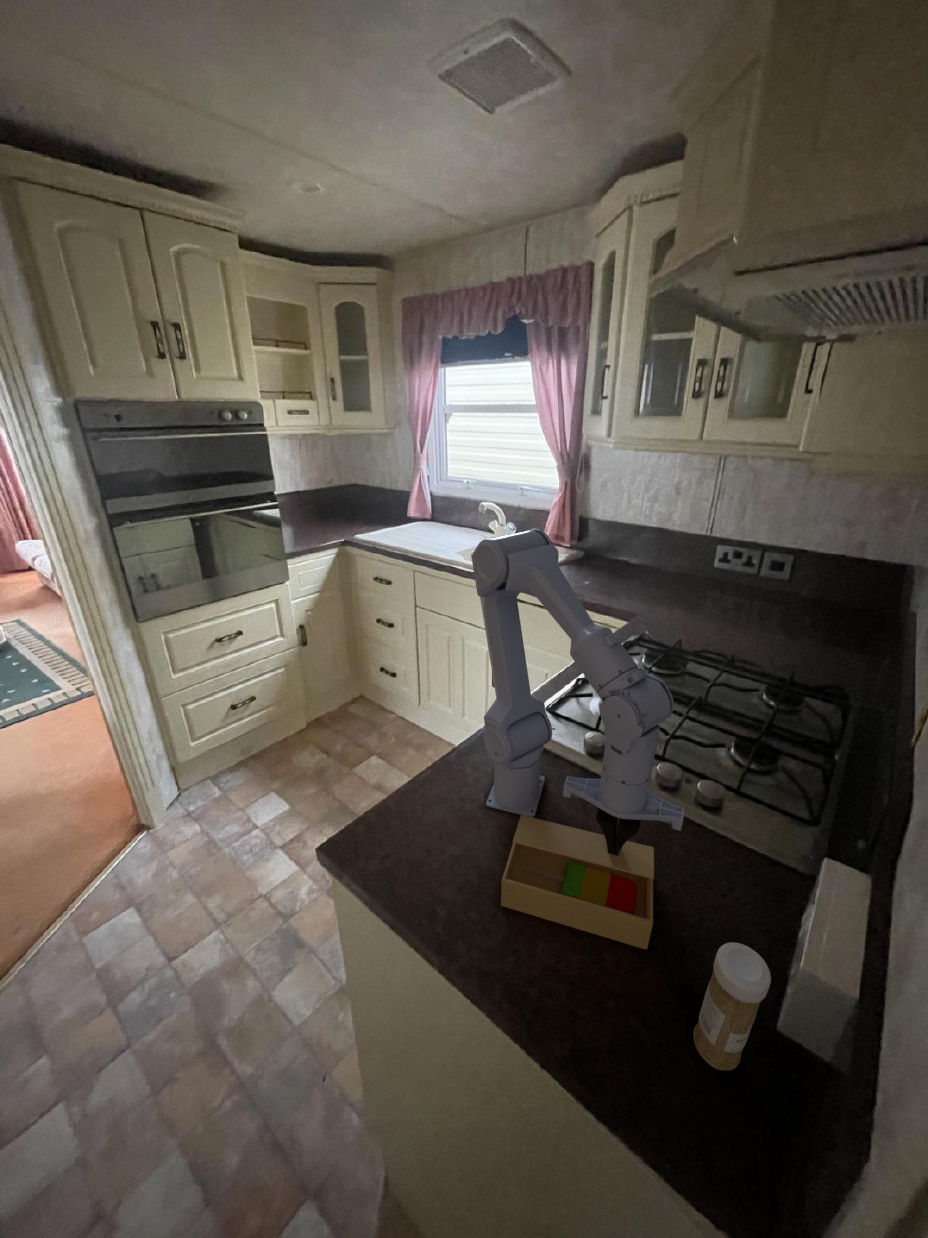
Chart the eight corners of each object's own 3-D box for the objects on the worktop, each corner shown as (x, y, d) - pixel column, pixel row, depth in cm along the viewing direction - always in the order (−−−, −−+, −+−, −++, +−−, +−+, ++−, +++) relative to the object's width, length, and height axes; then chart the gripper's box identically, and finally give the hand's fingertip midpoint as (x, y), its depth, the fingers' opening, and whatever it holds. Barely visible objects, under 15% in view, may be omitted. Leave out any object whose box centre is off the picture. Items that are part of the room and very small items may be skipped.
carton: (519, 842, 77) (520, 818, 75) (648, 876, 71) (653, 850, 69) (500, 905, 67) (501, 880, 65) (647, 950, 62) (653, 923, 60)
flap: (521, 816, 74) (521, 814, 74) (653, 849, 69) (653, 847, 69) (512, 842, 70) (512, 840, 70) (653, 879, 64) (654, 877, 64)
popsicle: (632, 926, 64) (634, 916, 64) (517, 887, 69) (518, 877, 69) (636, 889, 69) (638, 880, 68) (528, 855, 74) (529, 846, 73)
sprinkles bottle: (742, 1081, 50) (775, 999, 45) (692, 1061, 52) (718, 979, 46) (738, 1031, 54) (768, 950, 49) (691, 1013, 56) (715, 933, 50)
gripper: (691, 764, 63) (673, 844, 69) (575, 735, 69) (567, 811, 75) (689, 803, 58) (670, 887, 63) (562, 768, 63) (554, 848, 69)
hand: (613, 848), depth 69 cm, fingers closed
